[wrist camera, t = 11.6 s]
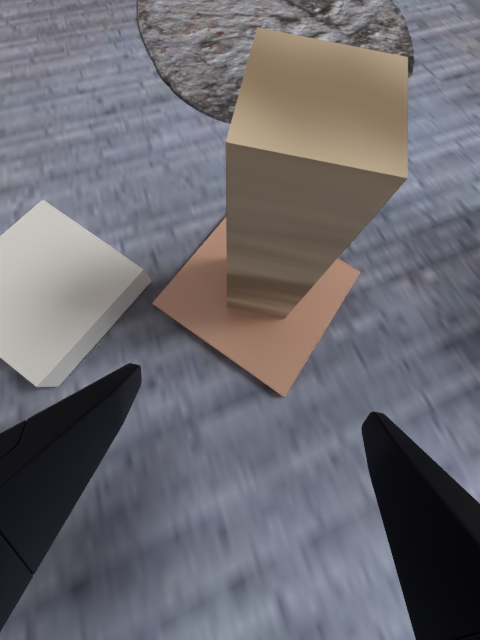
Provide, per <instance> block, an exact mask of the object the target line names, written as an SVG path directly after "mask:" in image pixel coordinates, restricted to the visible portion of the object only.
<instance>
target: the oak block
mask: <svg viewBox="0 0 480 640" xmlns="http://www.w3.org/2000/svg"><path fill="white" fill-rule="evenodd" d="M407 178H408V57H405V56H400V55H395V54H390V53H385V52H380V51H375V50H370V49H365V48H359V47H354V46H349V45H344V44H339V43H334V42H329V41H324V40H319V39H314V38H309V37H304V36H299V35H294V34H289V33H284V32H279V31H274V30H269V29H264V28H259V27H257V29H256V33H255V37H254V40H253V44H252V48H251V51H250V55H249V59H248V62H247V66H246V70H245V73H244V77H243V81H242V84H241V88H240V92H239V95H238V99H237V103H236V106H235V110H234V114H233V117H232V121H231V125H230V128H229V132H228V136H227V139H226V254H227V308H230V309H235V310H240V311H245V312H250V313H255V314H260V315H265V316H270V317H276V318H281V319H285V318H286V317H287V316H288V314H289V313H290V312H291V311H292V310H293V309H294V308H295V306H296V305H297V304H298V303H299V302H300V301H301V300H302V298H303V297H304V296H305V295H306V294H307V293H308V292H309V290H310V289H311V288H312V287H313V286H314V285H315V284H316V282H317V281H318V280H319V279H320V278H321V277H322V276H323V274H324V273H325V272H326V271H327V270H328V269H329V268H330V266H331V265H332V264H333V263H334V262H335V261H336V260H337V258H338V257H339V256H340V255H341V254H342V253H343V252H344V250H345V249H346V248H347V247H348V246H349V245H350V244H351V242H352V241H353V240H354V239H355V238H356V237H357V236H358V234H359V233H360V232H361V231H362V230H363V229H364V228H365V226H366V225H367V224H368V223H369V222H370V221H371V220H372V218H373V217H374V216H375V215H376V214H377V213H378V212H379V210H380V209H381V208H382V207H383V206H384V205H385V204H386V202H387V201H388V200H389V199H390V198H391V197H392V196H393V194H394V193H395V192H396V191H397V190H398V189H399V188H400V186H401V185H402V184H403V183H404V182H405V181H406V180H407Z"/></svg>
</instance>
